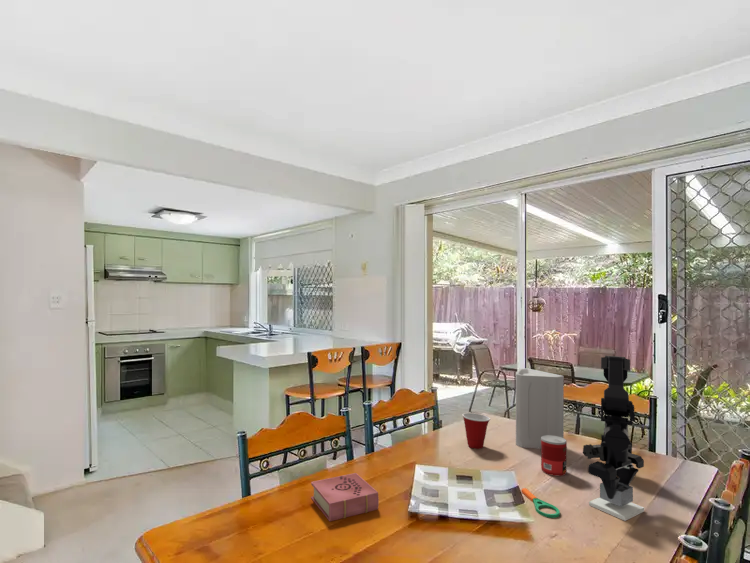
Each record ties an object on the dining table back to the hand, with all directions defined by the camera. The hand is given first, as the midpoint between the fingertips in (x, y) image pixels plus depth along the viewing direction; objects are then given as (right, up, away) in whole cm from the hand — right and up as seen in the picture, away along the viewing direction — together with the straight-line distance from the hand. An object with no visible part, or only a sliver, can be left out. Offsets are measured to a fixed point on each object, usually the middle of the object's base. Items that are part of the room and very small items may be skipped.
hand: (616, 495), depth 123 cm
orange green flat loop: (-21, -4, +2) cm, 22 cm away
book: (-77, -3, +1) cm, 77 cm away
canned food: (-8, -4, +25) cm, 26 cm away
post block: (0, -3, 0) cm, 3 cm away
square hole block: (0, -1, 0) cm, 1 cm away
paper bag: (-5, -5, +52) cm, 53 cm away
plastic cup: (-28, -5, +48) cm, 56 cm away
